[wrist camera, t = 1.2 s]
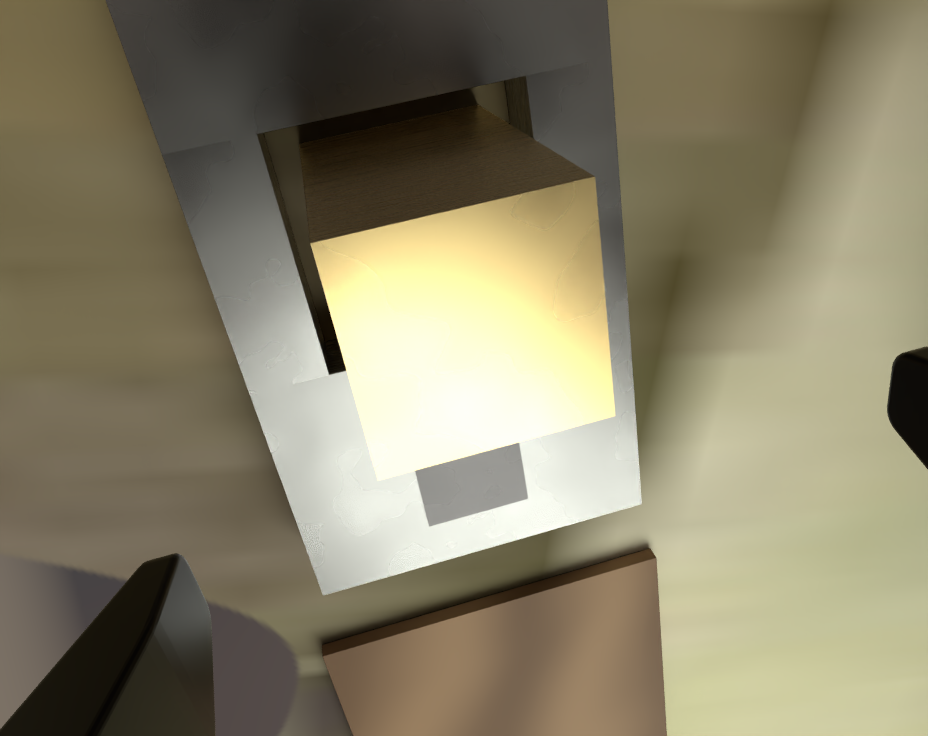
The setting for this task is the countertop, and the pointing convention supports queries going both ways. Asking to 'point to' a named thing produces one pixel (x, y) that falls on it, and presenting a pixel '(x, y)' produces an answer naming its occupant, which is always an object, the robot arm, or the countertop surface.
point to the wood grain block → (459, 284)
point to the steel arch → (282, 275)
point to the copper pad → (516, 662)
